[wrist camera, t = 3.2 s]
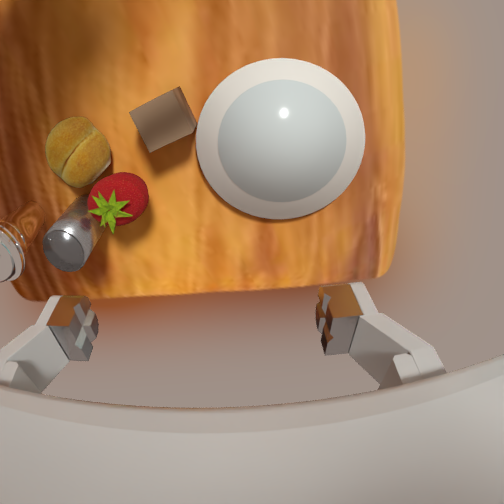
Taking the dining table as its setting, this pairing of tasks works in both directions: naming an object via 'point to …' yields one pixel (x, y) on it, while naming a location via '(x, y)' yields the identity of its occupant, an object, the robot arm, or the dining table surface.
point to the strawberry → (118, 199)
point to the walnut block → (164, 119)
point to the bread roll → (77, 151)
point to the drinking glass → (72, 236)
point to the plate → (280, 138)
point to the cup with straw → (18, 238)
